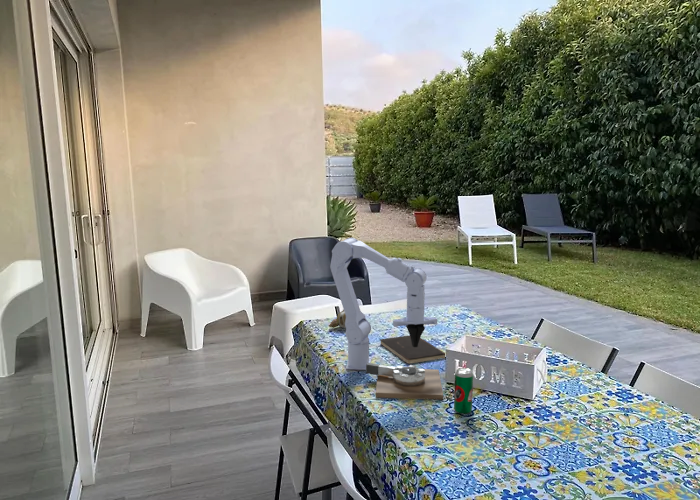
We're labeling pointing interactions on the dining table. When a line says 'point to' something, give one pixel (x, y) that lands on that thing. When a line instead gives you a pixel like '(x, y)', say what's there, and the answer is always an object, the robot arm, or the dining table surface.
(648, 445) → the dining table surface
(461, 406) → the soda can
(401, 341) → the hardcover book
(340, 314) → the ceramic sculpture
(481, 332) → the dining table surface
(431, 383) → the walnut board
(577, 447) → the dining table surface
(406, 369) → the silver mechanical part
